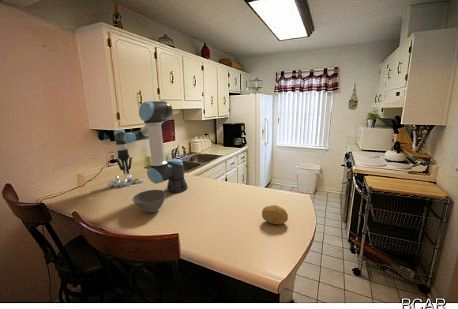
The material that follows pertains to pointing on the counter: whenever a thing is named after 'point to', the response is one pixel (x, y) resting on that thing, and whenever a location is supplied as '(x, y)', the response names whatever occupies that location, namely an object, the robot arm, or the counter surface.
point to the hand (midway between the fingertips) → (127, 177)
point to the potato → (274, 214)
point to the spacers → (119, 181)
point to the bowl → (149, 200)
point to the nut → (136, 181)
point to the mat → (127, 184)
